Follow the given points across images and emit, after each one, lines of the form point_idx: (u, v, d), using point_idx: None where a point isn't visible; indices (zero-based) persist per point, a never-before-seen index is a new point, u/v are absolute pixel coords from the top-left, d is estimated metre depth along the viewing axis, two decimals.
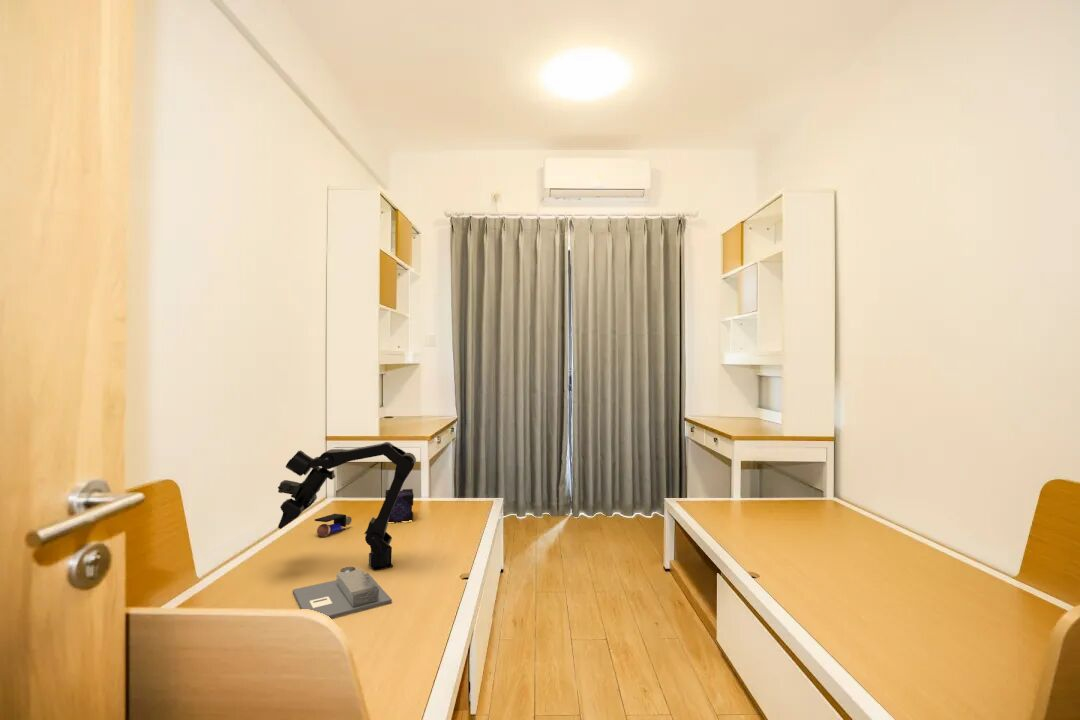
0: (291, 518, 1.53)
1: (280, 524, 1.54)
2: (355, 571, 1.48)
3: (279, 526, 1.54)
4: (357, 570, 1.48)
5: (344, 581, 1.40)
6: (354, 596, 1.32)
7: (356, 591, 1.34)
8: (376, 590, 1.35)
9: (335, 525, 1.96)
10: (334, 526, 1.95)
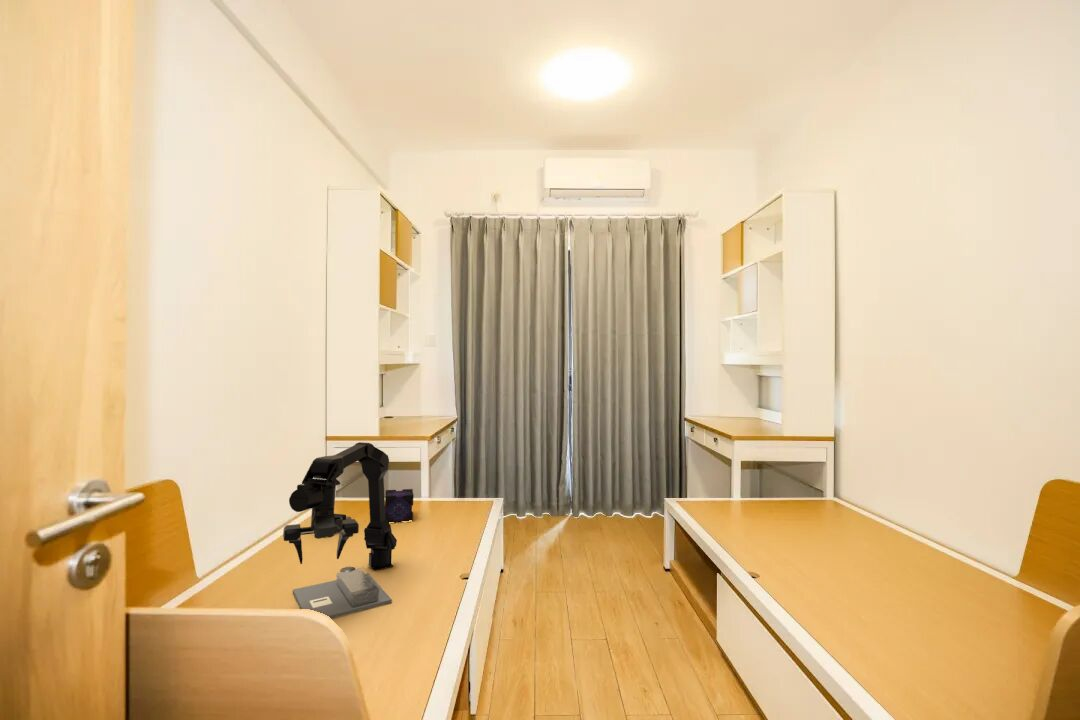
0: None
1: None
2: (355, 571, 1.48)
3: None
4: (357, 570, 1.48)
5: (344, 581, 1.40)
6: (354, 596, 1.32)
7: (356, 591, 1.34)
8: (376, 590, 1.35)
9: None
10: None
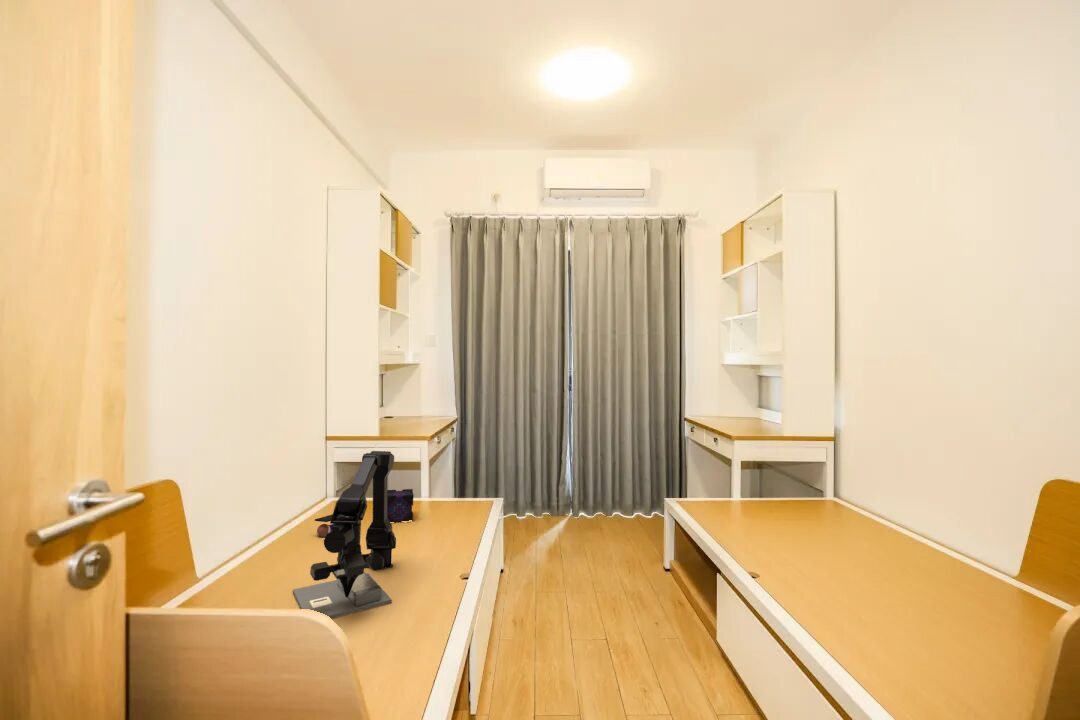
0: None
1: None
2: None
3: None
4: None
5: None
6: (357, 595, 1.32)
7: (359, 591, 1.34)
8: (379, 589, 1.36)
9: None
10: None
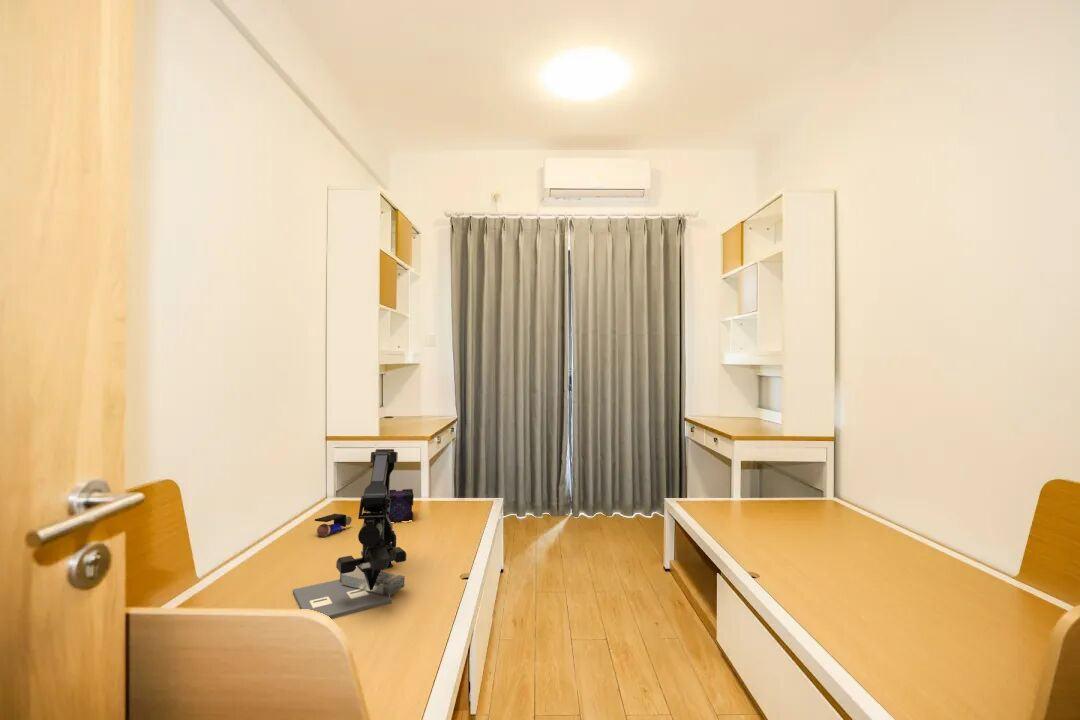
0: None
1: None
2: (358, 569, 1.49)
3: None
4: None
5: (361, 578, 1.43)
6: (389, 586, 1.39)
7: (387, 582, 1.40)
8: (403, 577, 1.44)
9: (335, 525, 1.96)
10: (334, 526, 1.95)
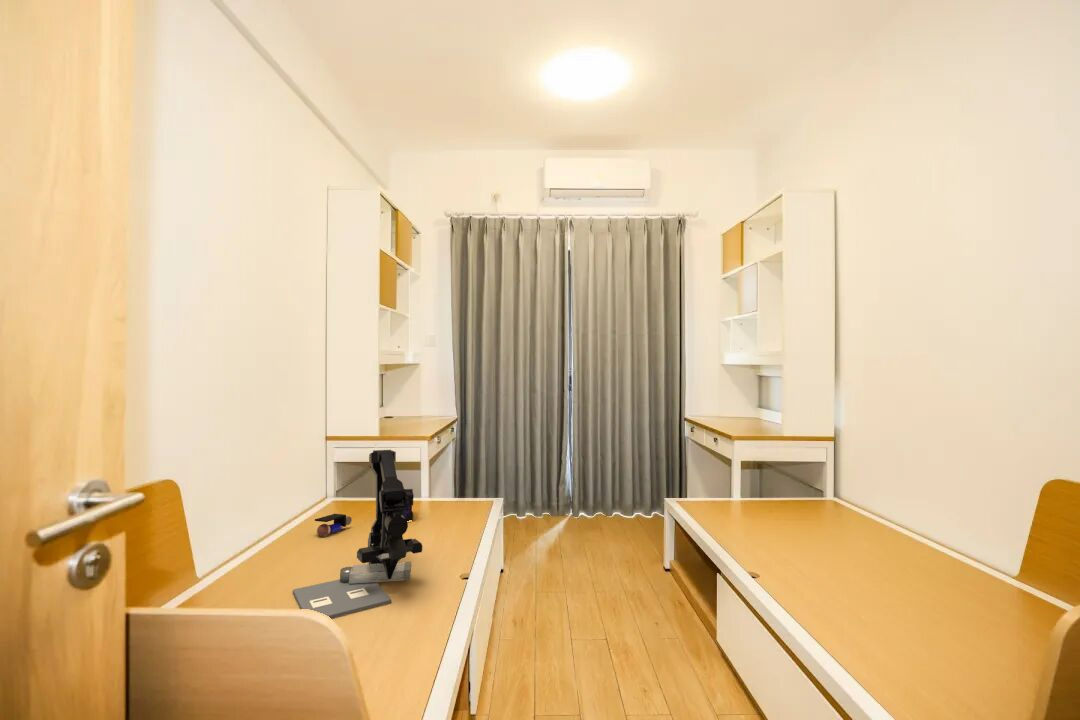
0: None
1: None
2: (358, 566, 1.51)
3: None
4: (357, 566, 1.52)
5: (374, 571, 1.48)
6: (410, 571, 1.50)
7: (404, 568, 1.51)
8: None
9: (335, 525, 1.96)
10: (334, 526, 1.95)
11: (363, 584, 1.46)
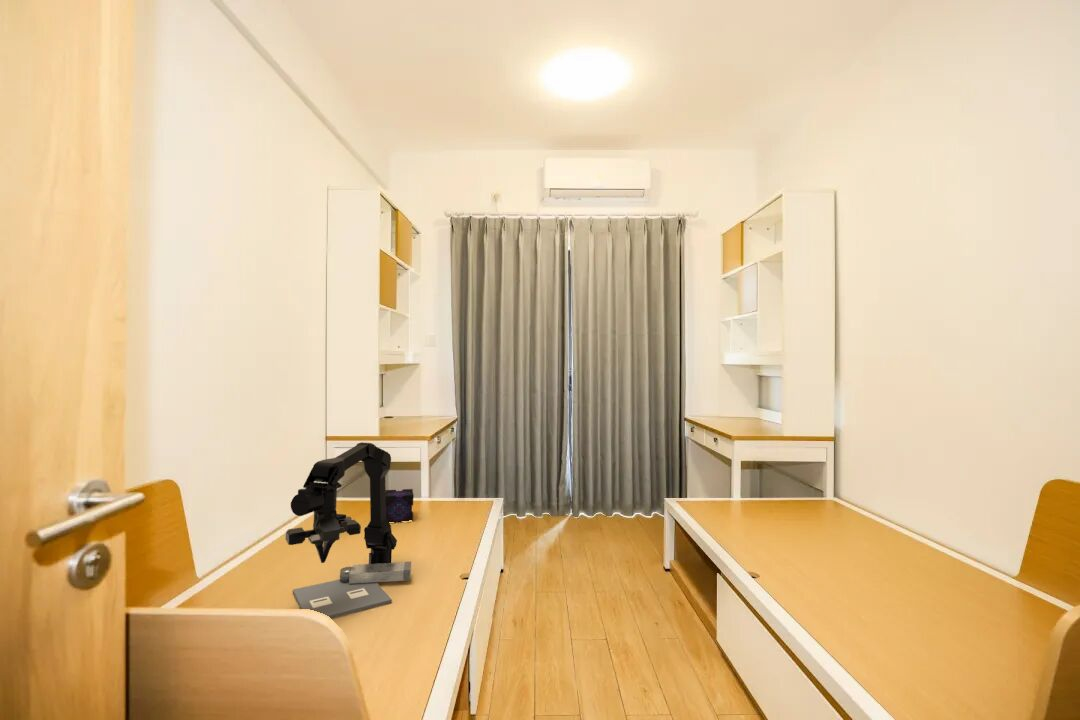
0: None
1: None
2: (357, 566, 1.51)
3: None
4: (357, 566, 1.52)
5: (374, 571, 1.48)
6: (410, 570, 1.50)
7: (404, 568, 1.51)
8: None
9: None
10: None
11: (363, 584, 1.46)
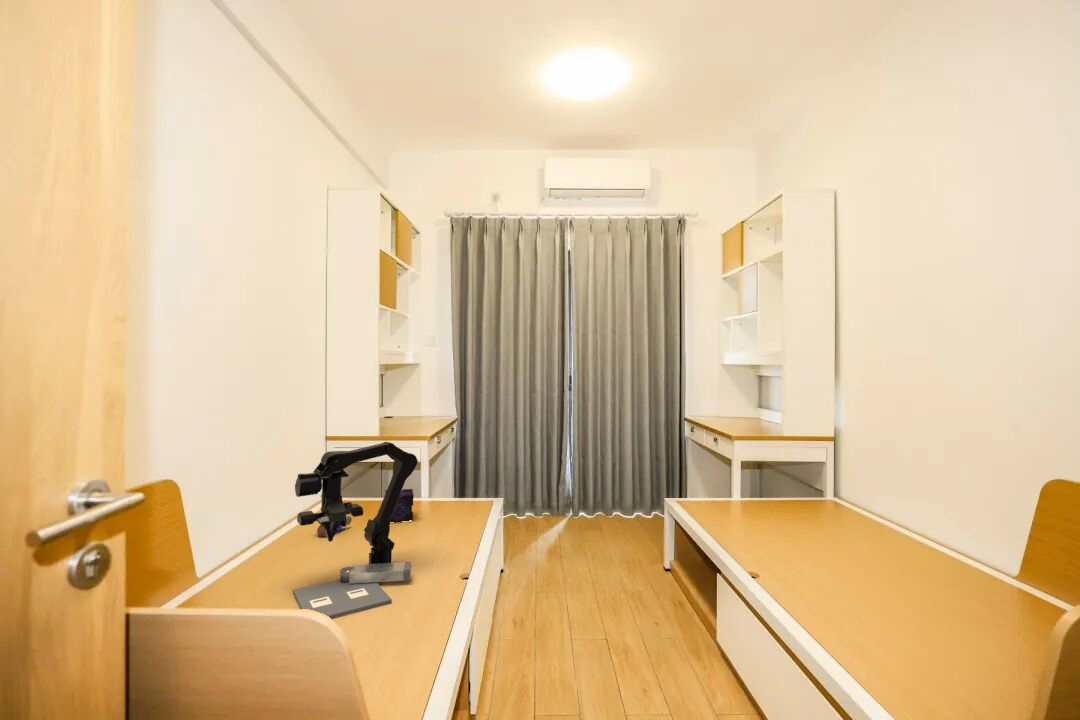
0: None
1: None
2: (357, 566, 1.51)
3: None
4: (357, 566, 1.52)
5: (374, 571, 1.48)
6: (410, 570, 1.50)
7: (404, 568, 1.51)
8: None
9: None
10: None
11: (363, 584, 1.46)
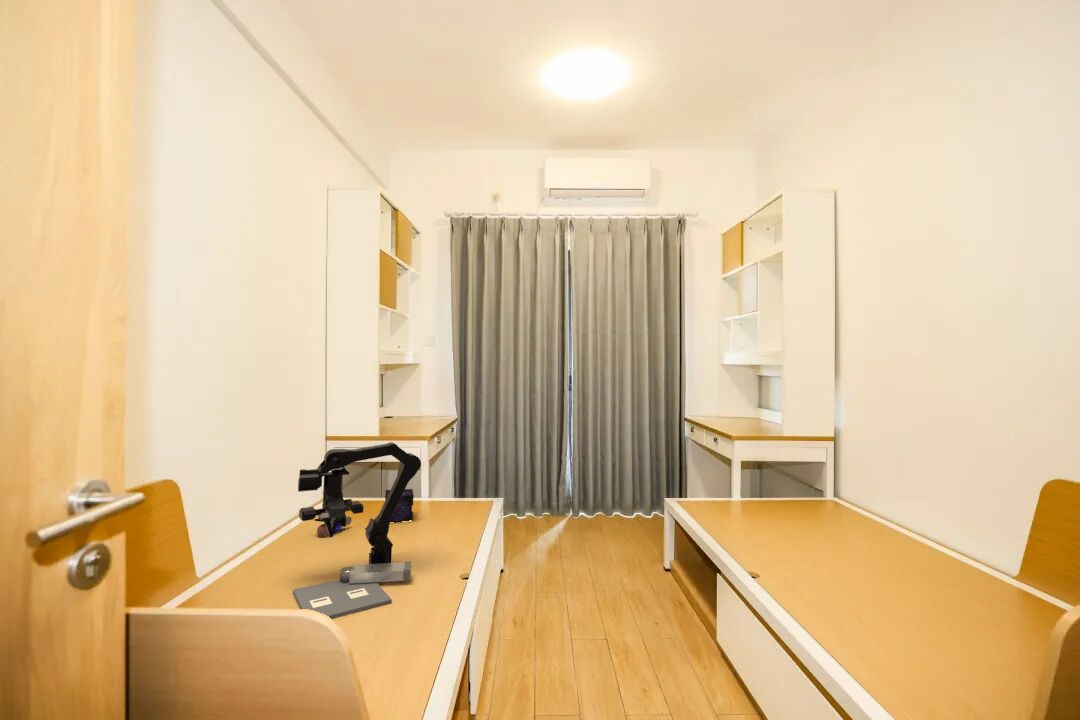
0: None
1: None
2: (357, 566, 1.51)
3: None
4: (357, 566, 1.52)
5: (374, 571, 1.48)
6: (410, 570, 1.50)
7: (404, 568, 1.51)
8: None
9: None
10: None
11: (363, 584, 1.46)
